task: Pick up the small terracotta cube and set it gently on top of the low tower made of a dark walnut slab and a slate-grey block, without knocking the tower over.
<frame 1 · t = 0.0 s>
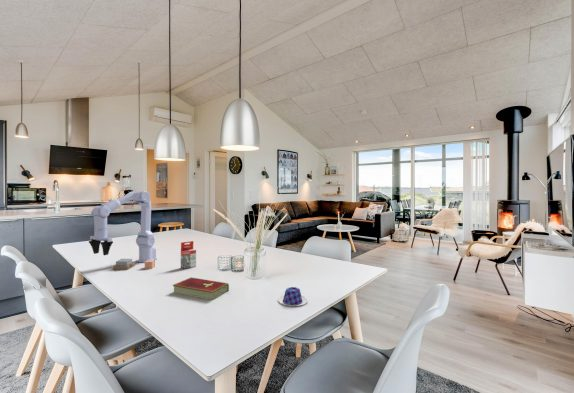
hand: (101, 254, 150), 10 cm above the table, tool pointing down, fingers open, 7 cm apart
cube: (149, 267, 161), on the table
ink box: (188, 267, 163), on the table
top block: (124, 264, 161), point 2 cm above the table, touching base block
hardcover book: (201, 293, 125), on the table
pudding: (292, 302, 116), on the table
base block: (124, 268, 161), on the table, touching top block
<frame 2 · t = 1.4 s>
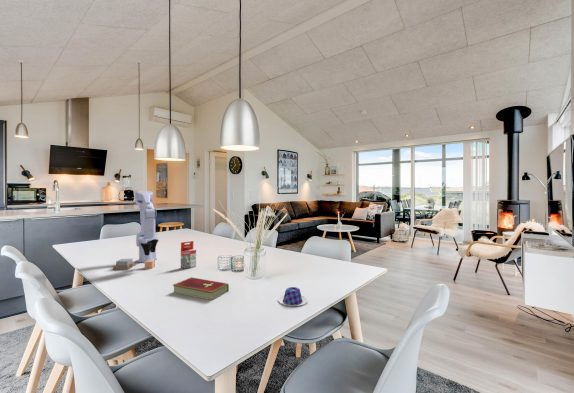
hand: (149, 253, 161), 8 cm above the table, tool pointing down, fingers open, 7 cm apart
nothing on the table moved.
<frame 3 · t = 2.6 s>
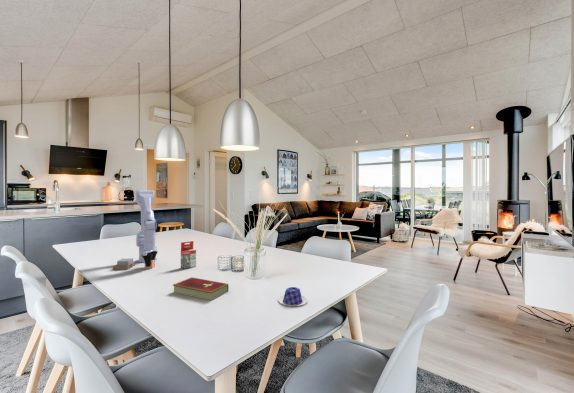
hand: (149, 265, 161), 1 cm above the table, tool pointing down, fingers closed on cube, 4 cm apart
cube: (149, 267, 161), on the table, touching gripper
top block: (125, 264, 161), point 2 cm above the table
base block: (124, 268, 161), on the table
everything else where it was.
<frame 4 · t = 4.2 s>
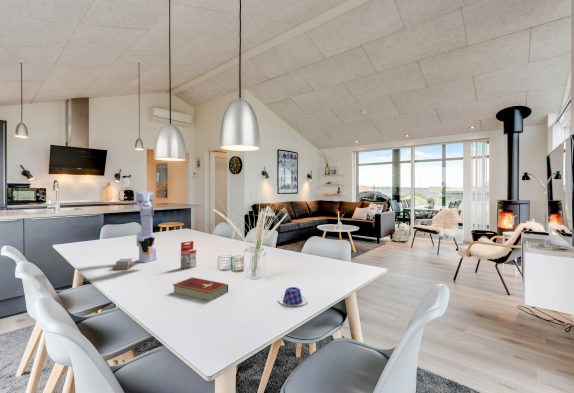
hand: (147, 251, 161), 9 cm above the table, tool pointing down, fingers closed on cube, 4 cm apart
cube: (147, 254, 161), point 8 cm above the table, touching gripper
top block: (124, 264, 161), point 2 cm above the table, touching base block
base block: (124, 268, 161), on the table, touching top block
everything else where it was.
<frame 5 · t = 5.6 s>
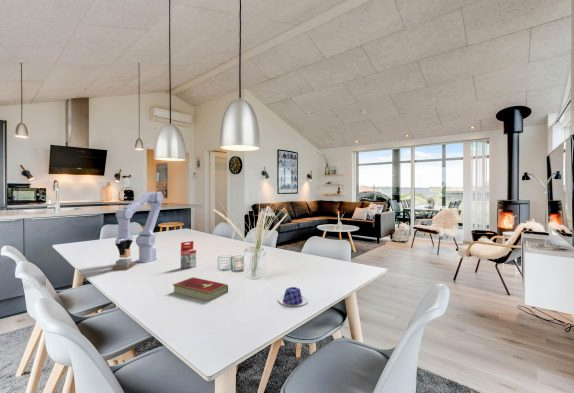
hand: (124, 253, 160), 8 cm above the table, tool pointing down, fingers closed on cube, 4 cm apart
cube: (125, 256, 160), point 6 cm above the table, touching gripper
everything else where it was.
when the fingers open (8 cm above the table, at t = 5.7 s): cube drops 2 cm, resting on top block.
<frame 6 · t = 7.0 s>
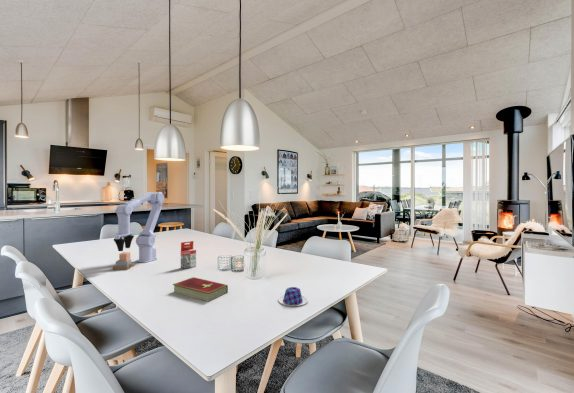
hand: (124, 249, 160), 10 cm above the table, tool pointing down, fingers open, 7 cm apart
cube: (124, 260, 161), point 4 cm above the table, touching top block
top block: (123, 264, 160), point 2 cm above the table, touching cube
base block: (124, 269, 161), on the table
everything else where it was.
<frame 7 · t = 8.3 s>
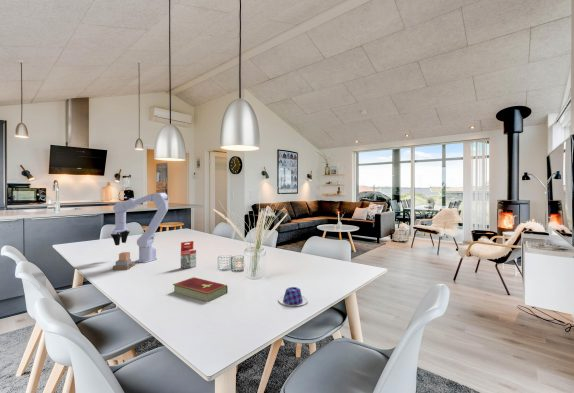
hand: (120, 244, 176), 10 cm above the table, tool pointing down, fingers open, 7 cm apart
cube: (124, 259, 161), point 4 cm above the table
top block: (123, 264, 160), point 2 cm above the table
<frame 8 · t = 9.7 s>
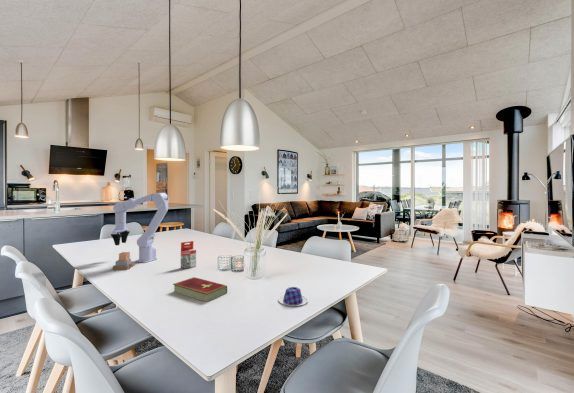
hand: (120, 244, 176), 10 cm above the table, tool pointing down, fingers open, 7 cm apart
cube: (124, 259, 161), point 4 cm above the table, touching top block
top block: (123, 264, 161), point 2 cm above the table, touching base block, cube
base block: (124, 268, 161), on the table, touching top block
at the end: cube 0.6 cm off-centre on the top block, point 2.5 cm above the top block's base; top block 0.3 cm off-centre on the base block, point 2.5 cm above the base block's base; cube tilted 1° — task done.
